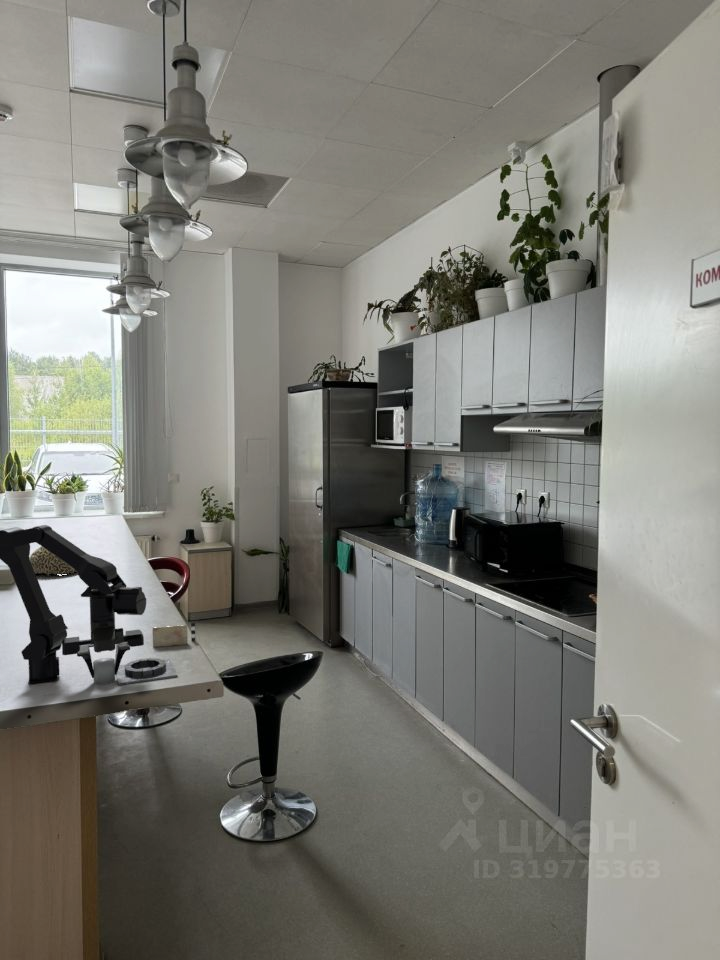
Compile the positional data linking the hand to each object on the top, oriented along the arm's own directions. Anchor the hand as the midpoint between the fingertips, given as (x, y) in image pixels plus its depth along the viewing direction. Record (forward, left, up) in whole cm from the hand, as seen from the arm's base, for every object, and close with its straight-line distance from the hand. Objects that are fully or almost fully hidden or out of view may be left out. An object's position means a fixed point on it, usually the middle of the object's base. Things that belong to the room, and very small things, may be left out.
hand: (104, 675), depth 166 cm
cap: (0, 0, -1) cm, 1 cm away
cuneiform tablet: (+20, +23, -2) cm, 31 cm away
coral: (-12, +155, -2) cm, 156 cm away
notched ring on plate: (+10, +2, -1) cm, 10 cm away
